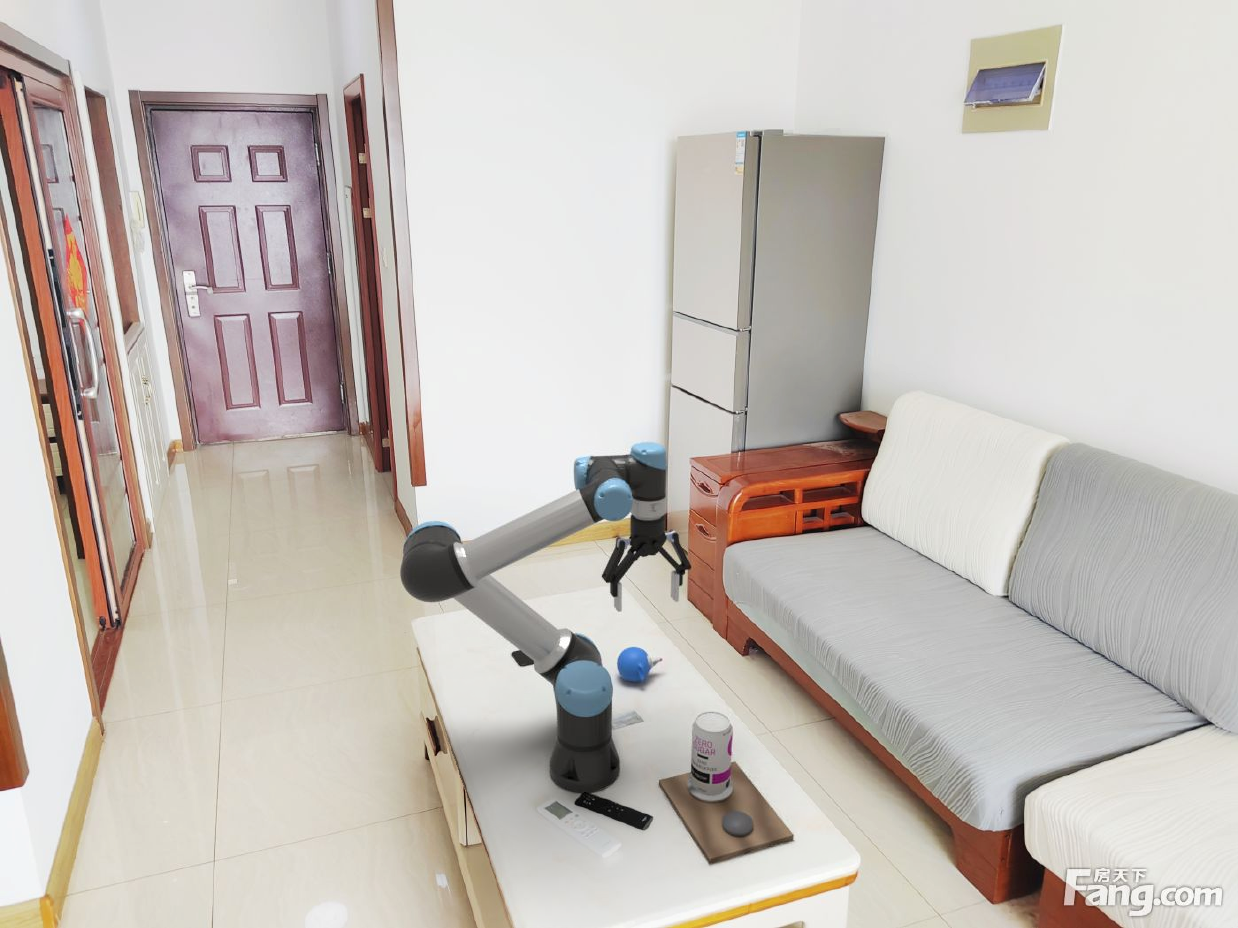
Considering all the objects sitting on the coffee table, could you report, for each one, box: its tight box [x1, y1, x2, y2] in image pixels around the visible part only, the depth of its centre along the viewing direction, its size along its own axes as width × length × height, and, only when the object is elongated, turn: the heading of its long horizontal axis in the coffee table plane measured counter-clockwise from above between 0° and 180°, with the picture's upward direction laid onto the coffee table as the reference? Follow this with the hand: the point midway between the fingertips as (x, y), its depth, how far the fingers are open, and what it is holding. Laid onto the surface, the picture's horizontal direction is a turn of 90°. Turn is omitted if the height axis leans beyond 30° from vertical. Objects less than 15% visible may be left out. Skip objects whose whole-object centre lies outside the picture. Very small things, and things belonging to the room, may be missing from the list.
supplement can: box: [690, 711, 734, 795], centre depth 180 cm, size 8×8×15 cm
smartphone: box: [511, 649, 534, 668], centre depth 236 cm, size 8×1×16 cm
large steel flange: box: [687, 775, 733, 803], centre depth 183 cm, size 10×10×1 cm
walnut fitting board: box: [658, 760, 795, 865], centre depth 178 cm, size 18×24×1 cm
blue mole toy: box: [616, 646, 663, 683], centre depth 224 cm, size 12×12×8 cm
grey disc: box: [722, 811, 753, 837], centre depth 172 cm, size 6×6×1 cm
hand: (646, 604), depth 195 cm, fingers open, 13 cm apart
